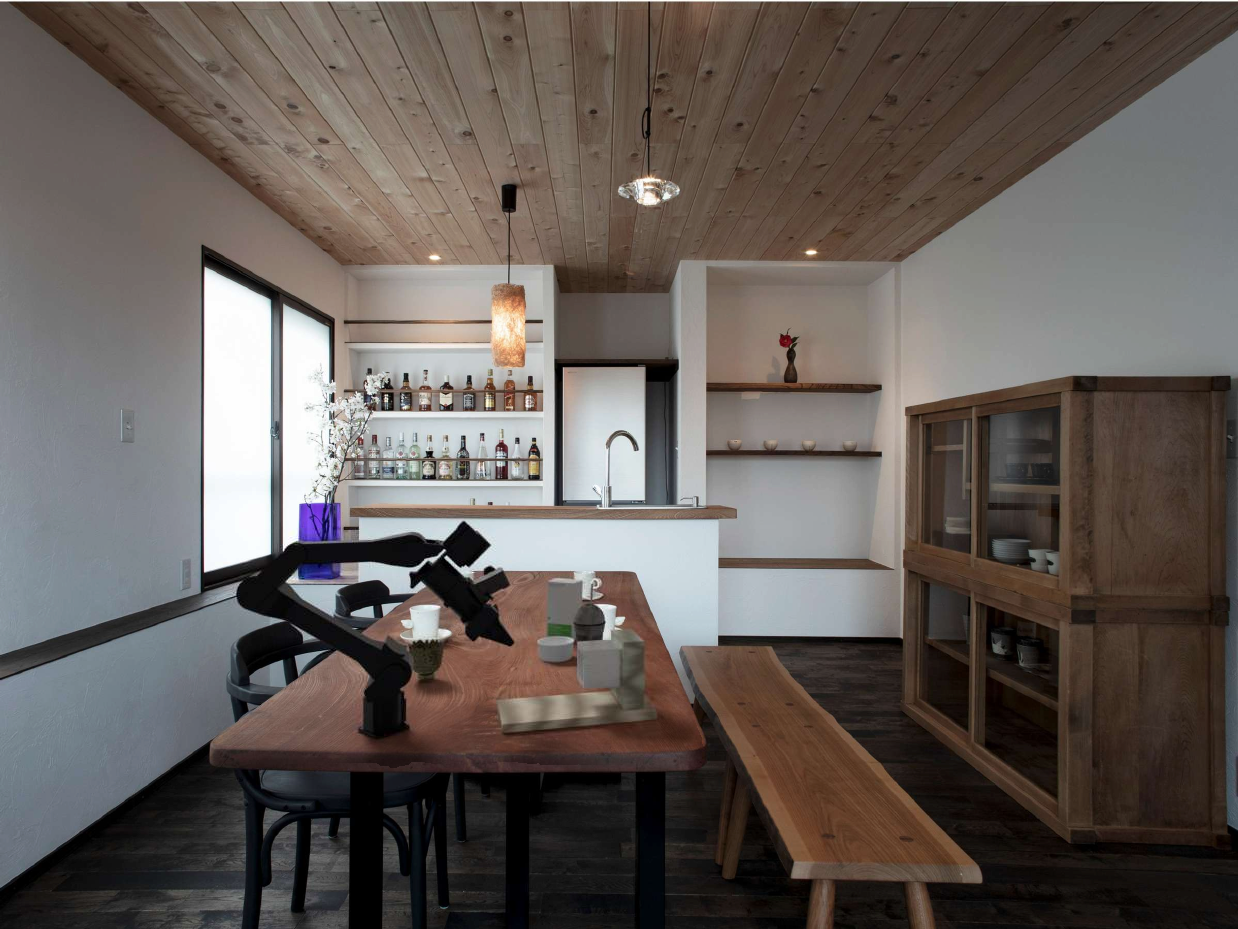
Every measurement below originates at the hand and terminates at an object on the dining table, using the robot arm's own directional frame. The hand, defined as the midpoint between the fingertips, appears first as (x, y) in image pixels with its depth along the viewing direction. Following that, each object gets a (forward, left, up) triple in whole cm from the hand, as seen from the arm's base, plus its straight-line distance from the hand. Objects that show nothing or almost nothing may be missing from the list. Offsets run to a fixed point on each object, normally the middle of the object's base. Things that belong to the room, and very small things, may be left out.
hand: (512, 644), depth 126 cm
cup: (+4, +32, -14) cm, 35 cm away
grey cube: (+13, -10, -8) cm, 18 cm away
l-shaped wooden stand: (+9, -7, -14) cm, 18 cm away
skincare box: (+50, +34, -14) cm, 62 cm away
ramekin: (+34, +22, -14) cm, 43 cm away
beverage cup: (+29, +7, -14) cm, 33 cm away
